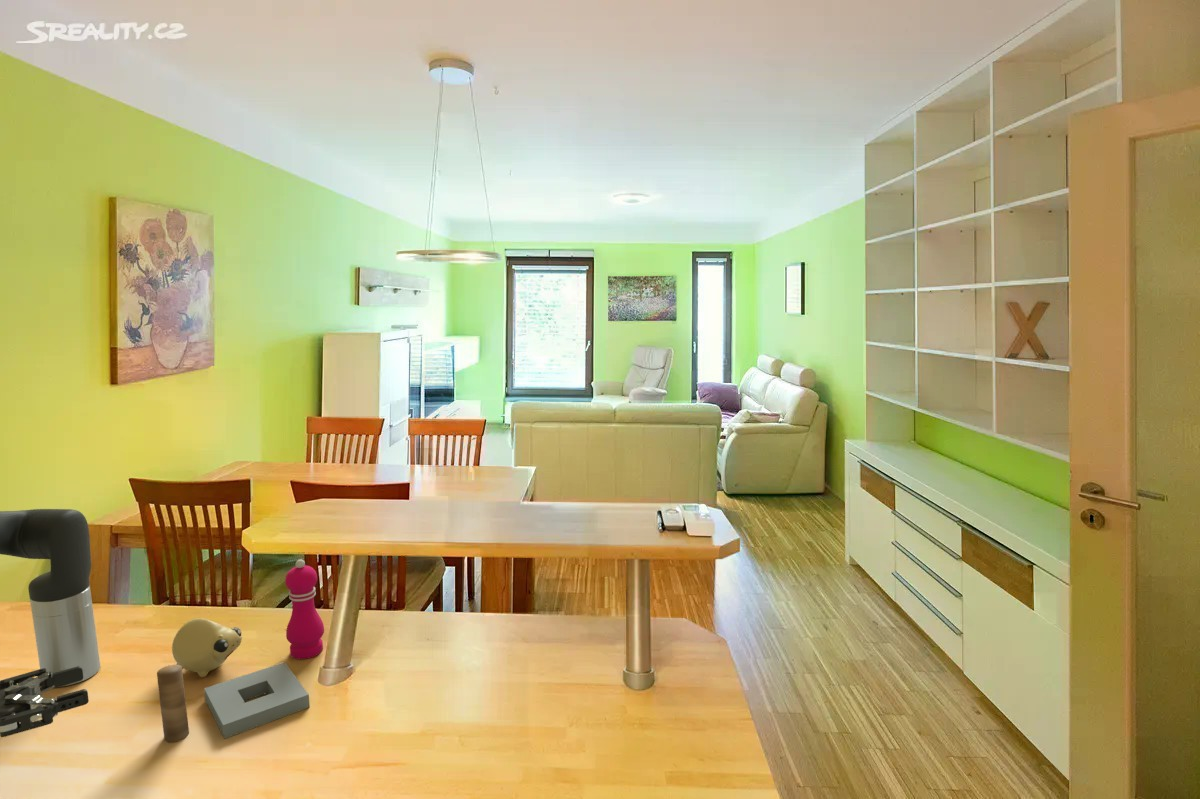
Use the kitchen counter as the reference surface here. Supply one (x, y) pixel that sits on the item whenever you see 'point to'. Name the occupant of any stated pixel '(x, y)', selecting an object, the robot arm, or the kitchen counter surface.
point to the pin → (173, 703)
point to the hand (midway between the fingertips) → (85, 683)
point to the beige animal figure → (204, 645)
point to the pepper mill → (303, 613)
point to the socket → (244, 716)
